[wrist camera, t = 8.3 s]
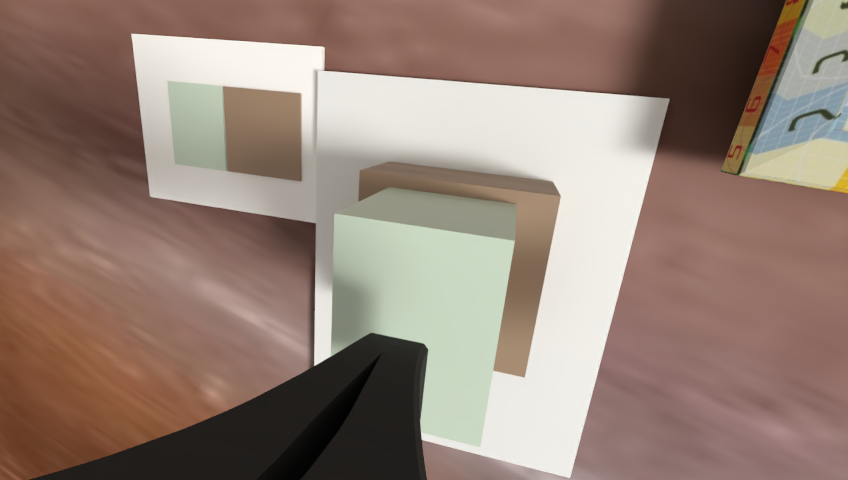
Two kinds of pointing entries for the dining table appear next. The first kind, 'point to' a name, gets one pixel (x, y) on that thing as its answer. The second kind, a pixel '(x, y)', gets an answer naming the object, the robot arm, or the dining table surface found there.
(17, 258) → the dining table surface
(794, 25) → the puzzle game
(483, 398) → the sage brick
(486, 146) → the plate
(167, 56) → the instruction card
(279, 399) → the robot arm
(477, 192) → the walnut brick
